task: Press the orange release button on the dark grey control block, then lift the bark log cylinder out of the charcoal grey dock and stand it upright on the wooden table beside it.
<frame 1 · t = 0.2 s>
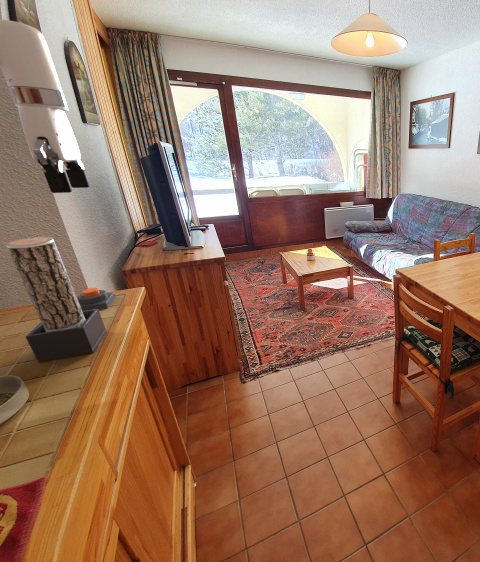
hand: (72, 189, 68), 35 cm above the worktop, tool pointing down, fingers open, 9 cm apart
dock: (75, 346, 73), on the worktop
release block: (95, 304, 93), on the worktop
release button: (91, 292, 91), point 4 cm above the worktop, slide at 0.1 cm
bark log cylinder: (74, 344, 73), point 1 cm above the worktop, touching dock
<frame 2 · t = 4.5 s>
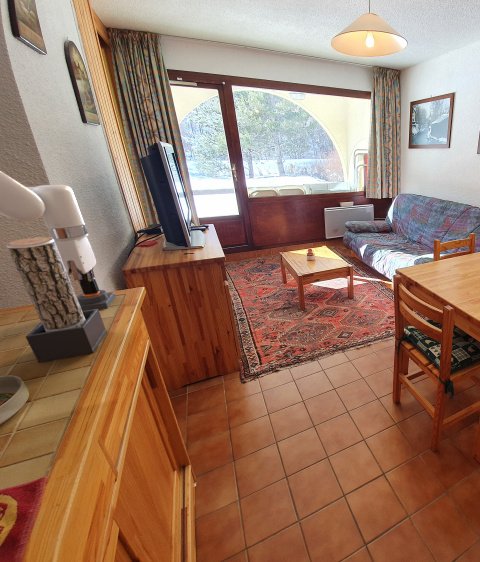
hand: (91, 292, 91), 4 cm above the worktop, tool pointing down, fingers closed
release button: (92, 295, 92), point 3 cm above the worktop, slide at -0.8 cm, touching gripper
everything else where it was.
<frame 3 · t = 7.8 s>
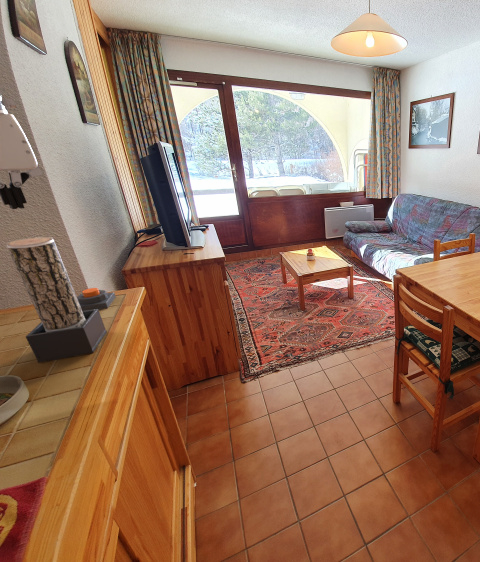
hand: (17, 207, 62), 32 cm above the worktop, tool pointing down, fingers closed
release button: (91, 292, 91), point 4 cm above the worktop, slide at 0.1 cm
everything else where it was.
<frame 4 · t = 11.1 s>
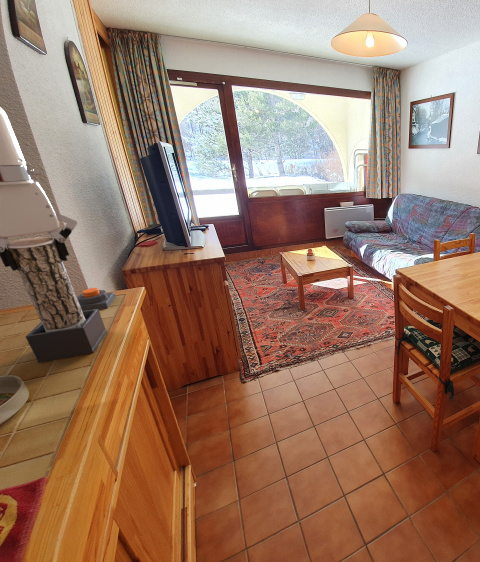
hand: (39, 263, 65), 21 cm above the worktop, tool pointing down, fingers closed on bark log cylinder, 6 cm apart
bark log cylinder: (74, 344, 73), point 1 cm above the worktop, touching dock, gripper
everything else where it was.
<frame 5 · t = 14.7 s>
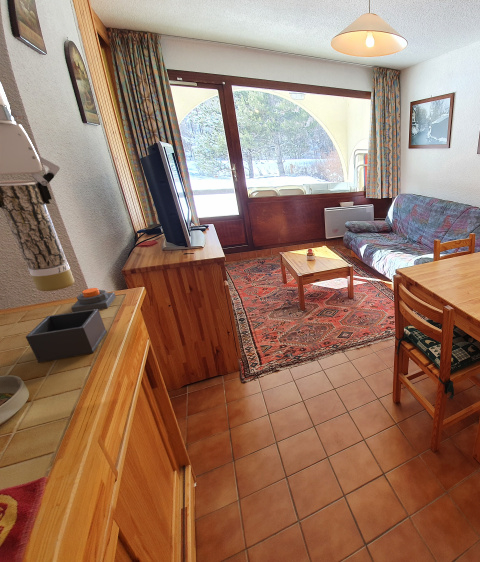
hand: (23, 204, 69), 32 cm above the worktop, tool pointing down, fingers closed on bark log cylinder, 6 cm apart
bark log cylinder: (57, 287, 77), point 11 cm above the worktop, touching gripper
everything else where it was.
when the fingers open (20 cm above the worktop, at t = 18.4 s): bark log cylinder stays where it is, on the worktop.
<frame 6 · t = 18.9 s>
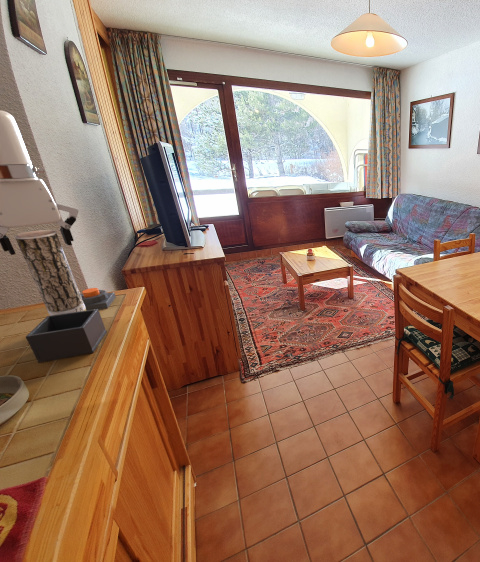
hand: (42, 248, 74), 21 cm above the worktop, tool pointing down, fingers open, 9 cm apart
bark log cylinder: (74, 326, 82), on the worktop
everything else where it was.
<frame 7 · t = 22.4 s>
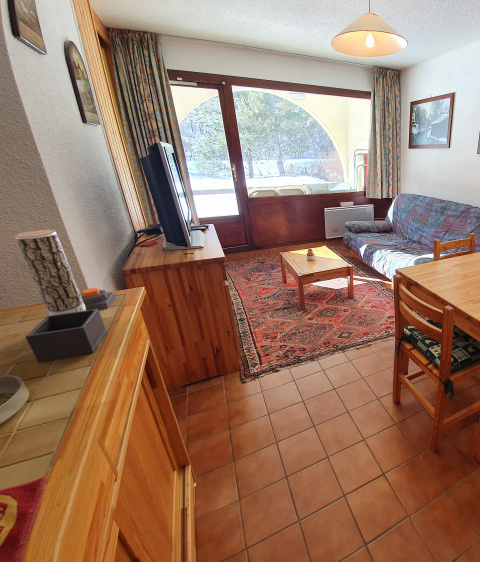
nothing on the worktop moved.
at the end: release button pushed in 1.0 cm at the most during the clip, back to where it started at the end; bark log cylinder inside the target area (0.3 cm from its centre), on the worktop; bark log cylinder tilted 0° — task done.
